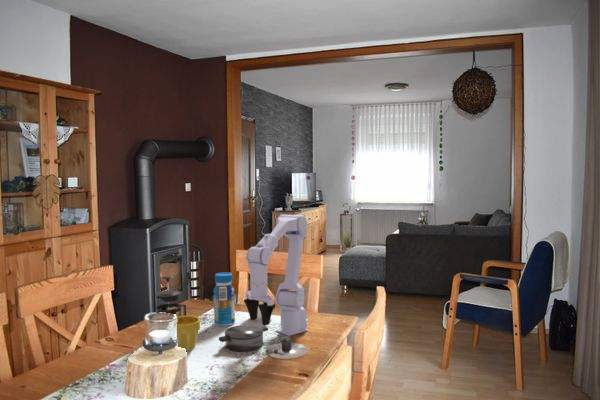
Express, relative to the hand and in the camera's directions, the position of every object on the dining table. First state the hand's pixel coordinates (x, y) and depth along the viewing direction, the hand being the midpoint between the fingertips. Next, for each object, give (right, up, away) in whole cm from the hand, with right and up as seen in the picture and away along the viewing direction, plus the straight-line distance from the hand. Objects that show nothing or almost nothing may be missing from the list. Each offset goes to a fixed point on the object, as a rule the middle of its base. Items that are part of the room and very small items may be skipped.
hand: (259, 322), depth 168 cm
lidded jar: (-2, -8, +36) cm, 37 cm away
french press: (-33, -9, +13) cm, 37 cm away
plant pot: (-26, -10, +4) cm, 28 cm away
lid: (+9, -10, -1) cm, 14 cm away
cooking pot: (-6, -9, +5) cm, 12 cm away
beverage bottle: (-16, -8, +30) cm, 35 cm away
